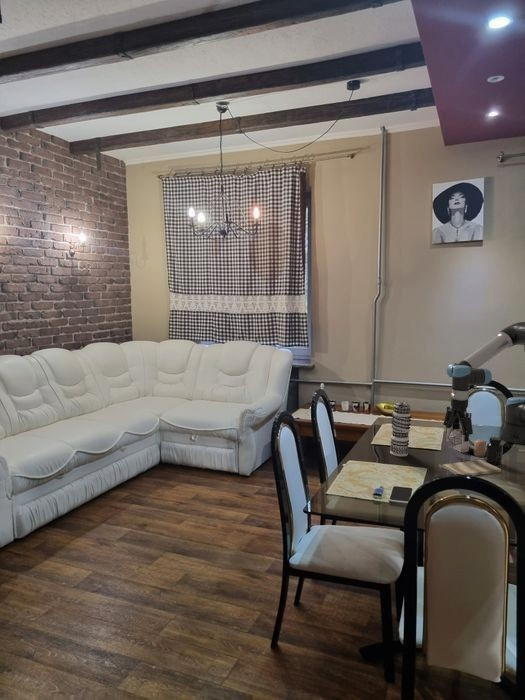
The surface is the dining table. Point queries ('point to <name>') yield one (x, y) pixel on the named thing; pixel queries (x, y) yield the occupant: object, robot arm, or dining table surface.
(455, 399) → the robot arm
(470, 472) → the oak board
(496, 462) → the supplement bottle
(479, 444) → the terracotta cylinder
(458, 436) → the game die
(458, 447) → the grey block
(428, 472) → the dining table surface
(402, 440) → the tower model
